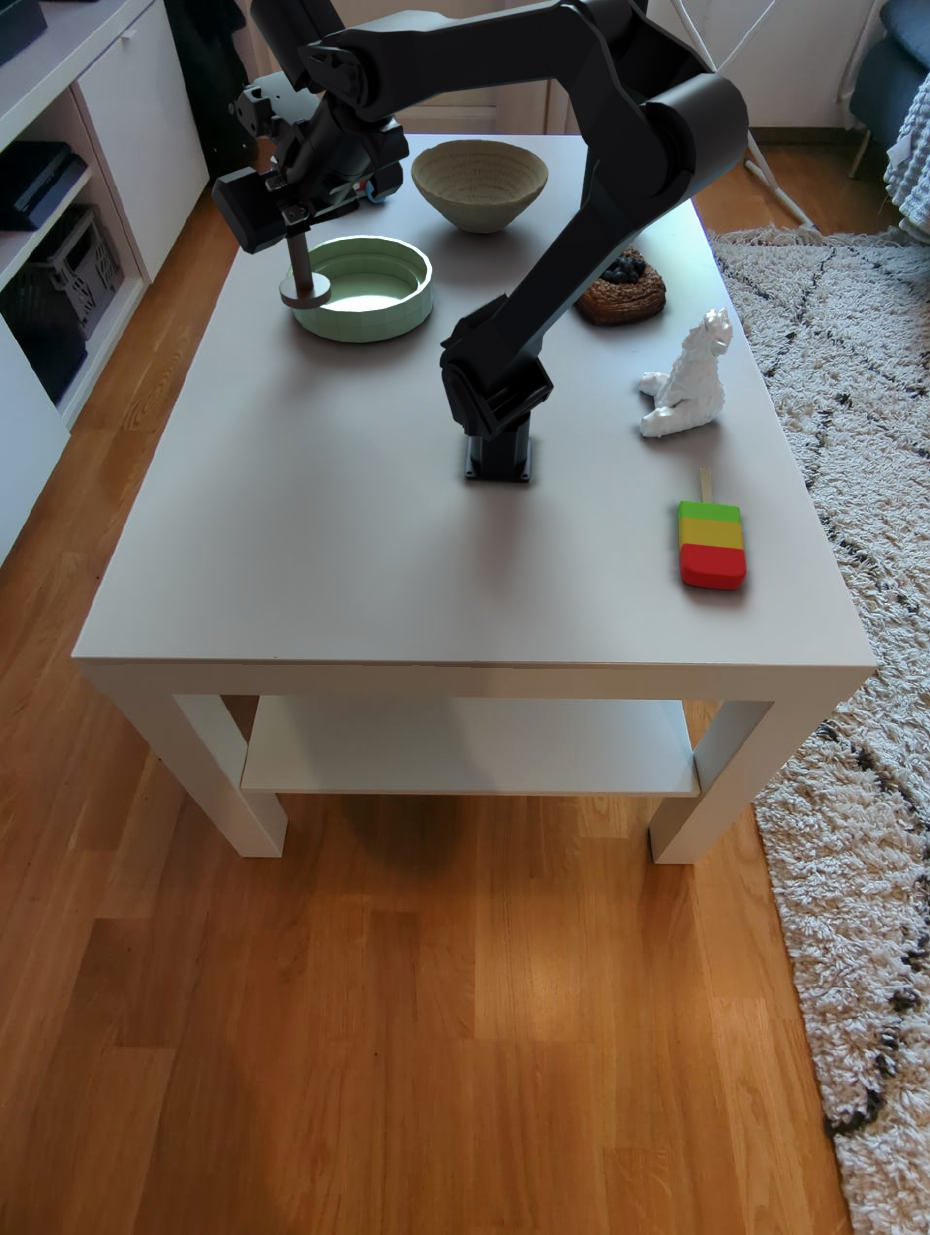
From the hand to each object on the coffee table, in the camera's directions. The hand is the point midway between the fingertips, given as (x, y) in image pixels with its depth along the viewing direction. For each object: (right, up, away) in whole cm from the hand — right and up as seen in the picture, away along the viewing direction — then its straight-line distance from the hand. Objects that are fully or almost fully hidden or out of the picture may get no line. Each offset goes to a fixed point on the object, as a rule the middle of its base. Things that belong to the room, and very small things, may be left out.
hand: (287, 227), depth 78 cm
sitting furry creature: (+41, -19, +3) cm, 46 cm away
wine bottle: (+40, +15, +28) cm, 51 cm away
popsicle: (+41, -32, -7) cm, 53 cm away
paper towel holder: (+1, -5, +5) cm, 7 cm away
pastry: (+37, -1, +16) cm, 41 cm away
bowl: (+20, +14, +27) cm, 37 cm away
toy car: (+2, +22, +33) cm, 40 cm away
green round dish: (+6, -2, +15) cm, 16 cm away
